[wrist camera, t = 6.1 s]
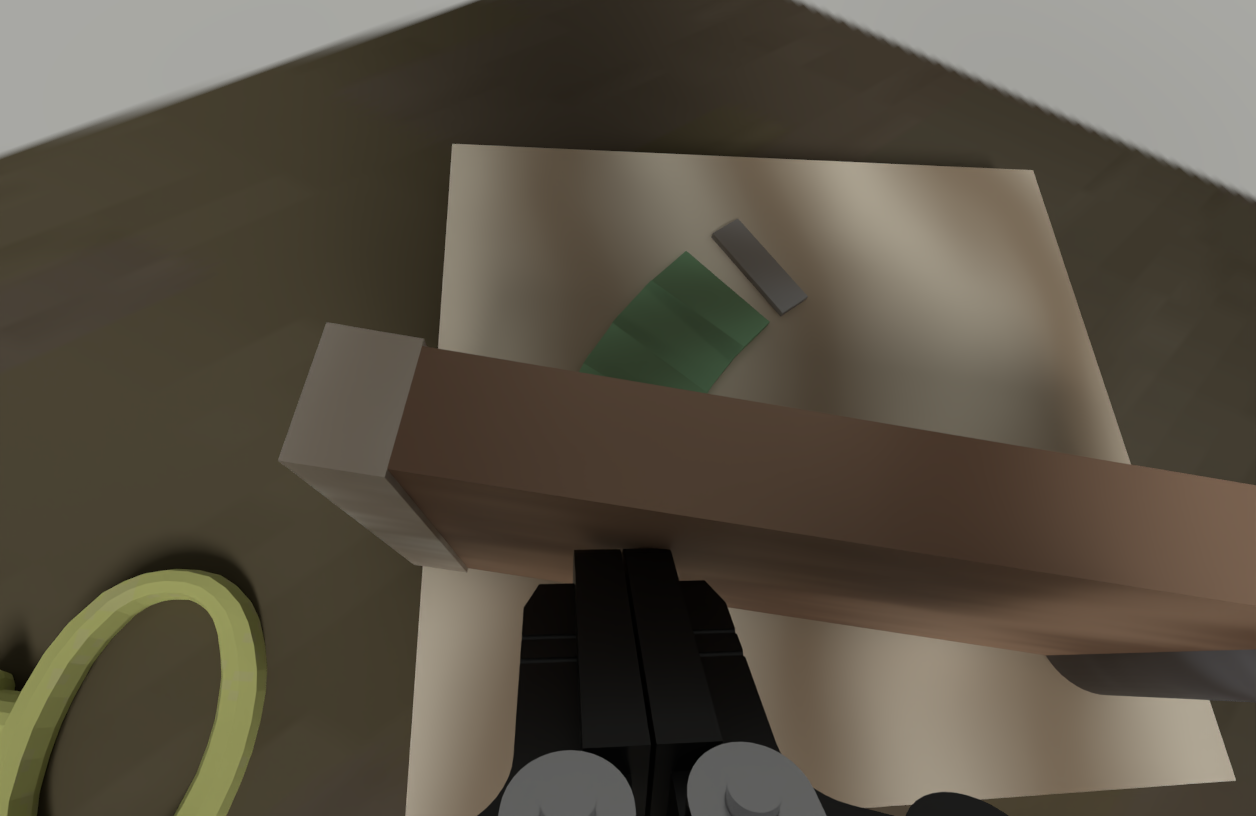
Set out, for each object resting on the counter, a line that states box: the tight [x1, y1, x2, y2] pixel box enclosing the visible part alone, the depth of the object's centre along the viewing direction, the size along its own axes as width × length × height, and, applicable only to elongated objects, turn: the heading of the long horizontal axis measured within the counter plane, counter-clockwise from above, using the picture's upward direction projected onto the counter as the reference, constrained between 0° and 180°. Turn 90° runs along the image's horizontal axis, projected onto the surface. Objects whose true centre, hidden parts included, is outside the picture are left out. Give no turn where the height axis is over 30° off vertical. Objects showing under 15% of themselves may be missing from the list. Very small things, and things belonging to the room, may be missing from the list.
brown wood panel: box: [278, 323, 1256, 702], centre depth 12 cm, size 18×3×8 cm, turn 83°
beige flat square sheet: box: [406, 144, 1236, 816], centre depth 18 cm, size 19×18×2 cm
